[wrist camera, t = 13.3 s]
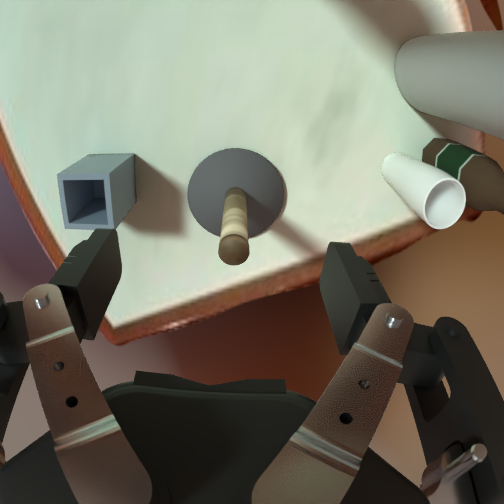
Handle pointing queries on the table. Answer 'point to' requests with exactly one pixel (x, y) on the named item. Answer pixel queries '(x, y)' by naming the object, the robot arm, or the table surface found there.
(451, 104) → the cylinder vase
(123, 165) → the deep cup
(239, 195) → the beech dowel
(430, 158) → the beer bottle
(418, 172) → the drinking glass
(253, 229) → the gray disc
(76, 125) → the table surface
